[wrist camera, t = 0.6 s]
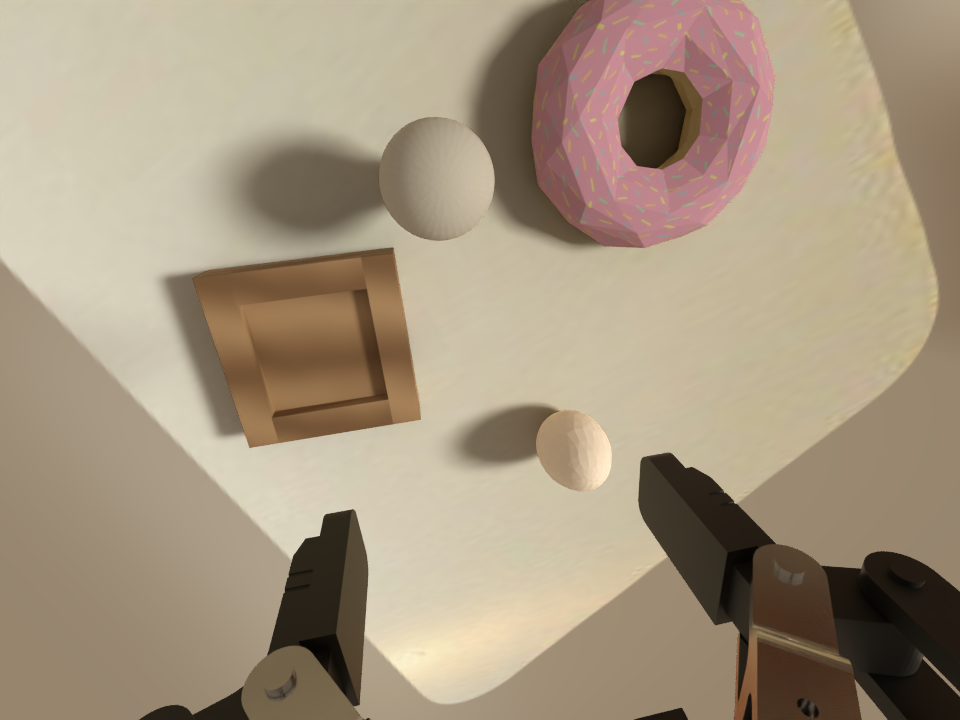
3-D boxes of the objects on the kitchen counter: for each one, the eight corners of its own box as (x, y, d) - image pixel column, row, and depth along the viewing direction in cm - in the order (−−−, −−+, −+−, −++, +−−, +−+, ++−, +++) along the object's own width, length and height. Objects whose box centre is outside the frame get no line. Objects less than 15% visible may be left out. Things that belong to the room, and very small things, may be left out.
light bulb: (402, 238, 32) (403, 265, 22) (368, 146, 29) (355, 134, 20) (484, 210, 32) (519, 225, 23) (458, 117, 29) (485, 91, 20)
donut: (741, 209, 35) (792, 214, 30) (548, 269, 34) (571, 283, 30) (731, -45, 29) (794, -87, 24) (495, 22, 28) (514, -8, 24)
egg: (601, 420, 40) (644, 473, 33) (556, 463, 40) (589, 524, 33) (559, 383, 38) (596, 432, 31) (513, 429, 39) (539, 486, 31)
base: (207, 270, 30) (192, 278, 28) (393, 247, 32) (392, 253, 29) (259, 429, 35) (249, 447, 33) (419, 403, 36) (420, 419, 34)
